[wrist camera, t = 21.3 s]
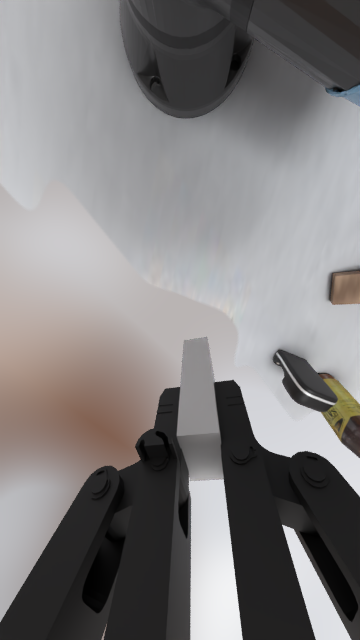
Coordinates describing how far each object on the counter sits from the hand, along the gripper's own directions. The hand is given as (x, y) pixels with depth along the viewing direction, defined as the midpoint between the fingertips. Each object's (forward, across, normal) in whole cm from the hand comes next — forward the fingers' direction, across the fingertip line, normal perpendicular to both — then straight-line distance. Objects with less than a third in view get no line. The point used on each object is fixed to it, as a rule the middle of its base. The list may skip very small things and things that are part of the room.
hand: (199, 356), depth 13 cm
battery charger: (+25, +16, -22) cm, 37 cm away
